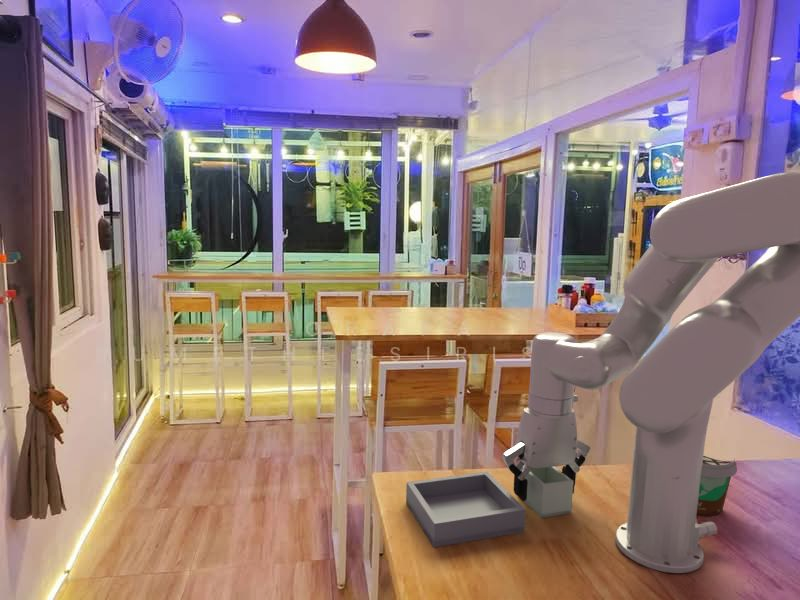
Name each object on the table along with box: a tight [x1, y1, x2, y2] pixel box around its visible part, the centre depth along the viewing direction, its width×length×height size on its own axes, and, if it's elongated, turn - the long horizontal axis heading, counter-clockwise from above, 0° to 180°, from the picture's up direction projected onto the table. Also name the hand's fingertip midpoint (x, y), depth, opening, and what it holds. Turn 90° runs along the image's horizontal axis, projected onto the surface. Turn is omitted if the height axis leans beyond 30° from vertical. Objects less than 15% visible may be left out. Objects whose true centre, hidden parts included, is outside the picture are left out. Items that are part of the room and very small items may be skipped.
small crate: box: [520, 465, 573, 519], centre depth 100 cm, size 6×8×6 cm
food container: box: [696, 455, 738, 518], centre depth 99 cm, size 12×6×10 cm, turn 62°
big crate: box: [405, 471, 527, 548], centre depth 96 cm, size 16×14×4 cm
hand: (544, 493), depth 101 cm, fingers open, 9 cm apart
